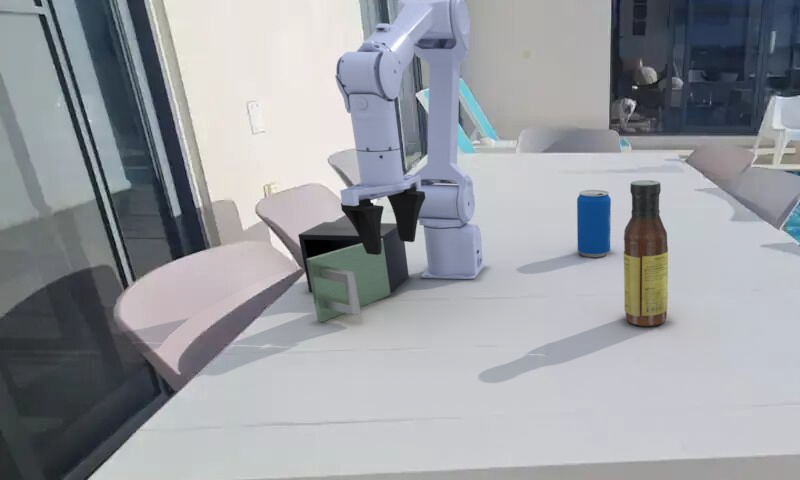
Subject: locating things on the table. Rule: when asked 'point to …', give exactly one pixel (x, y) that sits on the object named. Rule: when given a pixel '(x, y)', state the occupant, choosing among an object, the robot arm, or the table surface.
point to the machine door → (347, 280)
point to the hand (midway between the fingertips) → (391, 247)
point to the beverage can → (593, 223)
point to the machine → (345, 235)
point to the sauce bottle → (645, 258)
